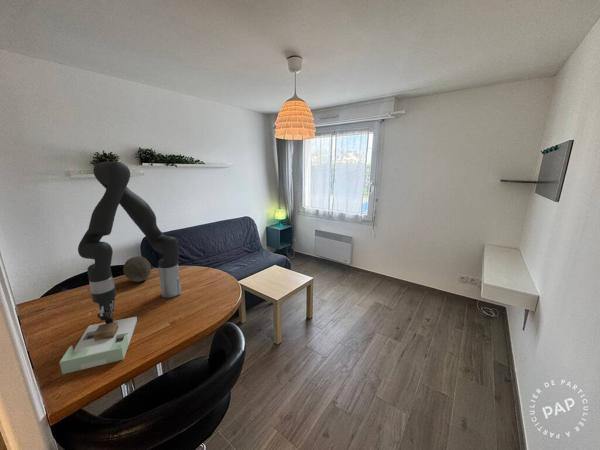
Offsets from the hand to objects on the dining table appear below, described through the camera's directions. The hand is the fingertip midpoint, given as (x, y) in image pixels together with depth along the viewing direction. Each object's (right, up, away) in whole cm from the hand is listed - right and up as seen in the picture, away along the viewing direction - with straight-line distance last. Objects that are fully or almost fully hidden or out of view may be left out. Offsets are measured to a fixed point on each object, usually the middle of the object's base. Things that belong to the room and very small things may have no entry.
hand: (110, 324), depth 99 cm
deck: (+3, -5, -6) cm, 8 cm away
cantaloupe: (-18, +8, +43) cm, 47 cm away
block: (+2, -2, -4) cm, 5 cm away
